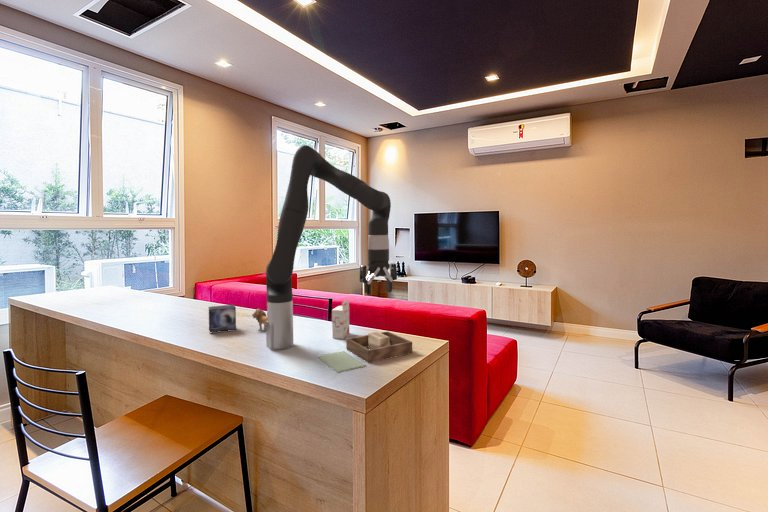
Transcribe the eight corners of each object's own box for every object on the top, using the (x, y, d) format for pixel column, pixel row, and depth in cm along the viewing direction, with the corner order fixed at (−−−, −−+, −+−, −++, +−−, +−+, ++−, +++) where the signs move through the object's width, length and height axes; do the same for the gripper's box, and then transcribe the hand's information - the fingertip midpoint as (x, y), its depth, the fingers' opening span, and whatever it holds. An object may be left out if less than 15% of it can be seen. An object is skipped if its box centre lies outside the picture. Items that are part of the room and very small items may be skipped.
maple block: (380, 355, 127) (379, 338, 127) (368, 349, 134) (368, 333, 133) (389, 353, 129) (389, 337, 129) (377, 347, 136) (377, 331, 136)
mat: (337, 372, 112) (337, 371, 112) (317, 357, 125) (317, 356, 125) (366, 366, 117) (366, 364, 117) (343, 352, 131) (343, 350, 131)
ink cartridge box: (338, 332, 156) (338, 298, 155) (349, 333, 155) (349, 298, 154) (331, 338, 147) (331, 302, 146) (343, 339, 146) (343, 302, 145)
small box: (209, 334, 154) (208, 309, 153) (208, 330, 159) (207, 306, 159) (236, 330, 159) (235, 306, 158) (234, 327, 164) (234, 304, 164)
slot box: (368, 362, 120) (368, 350, 120) (346, 349, 133) (346, 338, 133) (412, 352, 130) (412, 341, 129) (387, 341, 143) (387, 331, 143)
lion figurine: (250, 329, 161) (250, 309, 160) (261, 327, 165) (261, 307, 164) (269, 335, 151) (269, 314, 151) (280, 332, 155) (280, 311, 155)
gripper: (366, 249, 122) (366, 297, 123) (401, 247, 130) (401, 292, 131) (355, 248, 128) (356, 293, 130) (389, 246, 136) (389, 290, 137)
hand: (378, 293), depth 130 cm, fingers open, 8 cm apart
